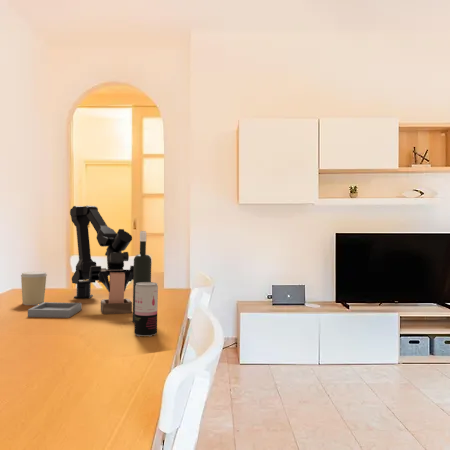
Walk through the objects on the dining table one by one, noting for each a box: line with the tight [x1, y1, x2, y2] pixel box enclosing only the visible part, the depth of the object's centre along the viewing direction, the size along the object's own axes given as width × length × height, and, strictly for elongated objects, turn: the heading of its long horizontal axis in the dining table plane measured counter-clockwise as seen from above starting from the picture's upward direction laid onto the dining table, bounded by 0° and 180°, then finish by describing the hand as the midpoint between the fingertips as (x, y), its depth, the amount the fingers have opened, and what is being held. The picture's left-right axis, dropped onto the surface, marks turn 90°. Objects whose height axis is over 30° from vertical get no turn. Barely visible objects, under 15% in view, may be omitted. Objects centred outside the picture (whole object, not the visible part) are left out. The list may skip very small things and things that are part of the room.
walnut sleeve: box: [100, 298, 133, 315], centre depth 167 cm, size 10×10×4 cm
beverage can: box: [133, 281, 159, 337], centre depth 134 cm, size 7×7×15 cm
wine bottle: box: [132, 230, 152, 324], centre depth 151 cm, size 6×6×30 cm
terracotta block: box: [108, 272, 125, 304], centre depth 167 cm, size 5×5×13 cm
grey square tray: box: [27, 301, 83, 319], centre depth 161 cm, size 14×14×2 cm
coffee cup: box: [20, 271, 48, 306], centre depth 179 cm, size 9×9×12 cm
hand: (116, 291), depth 166 cm, fingers closed on terracotta block, 5 cm apart
